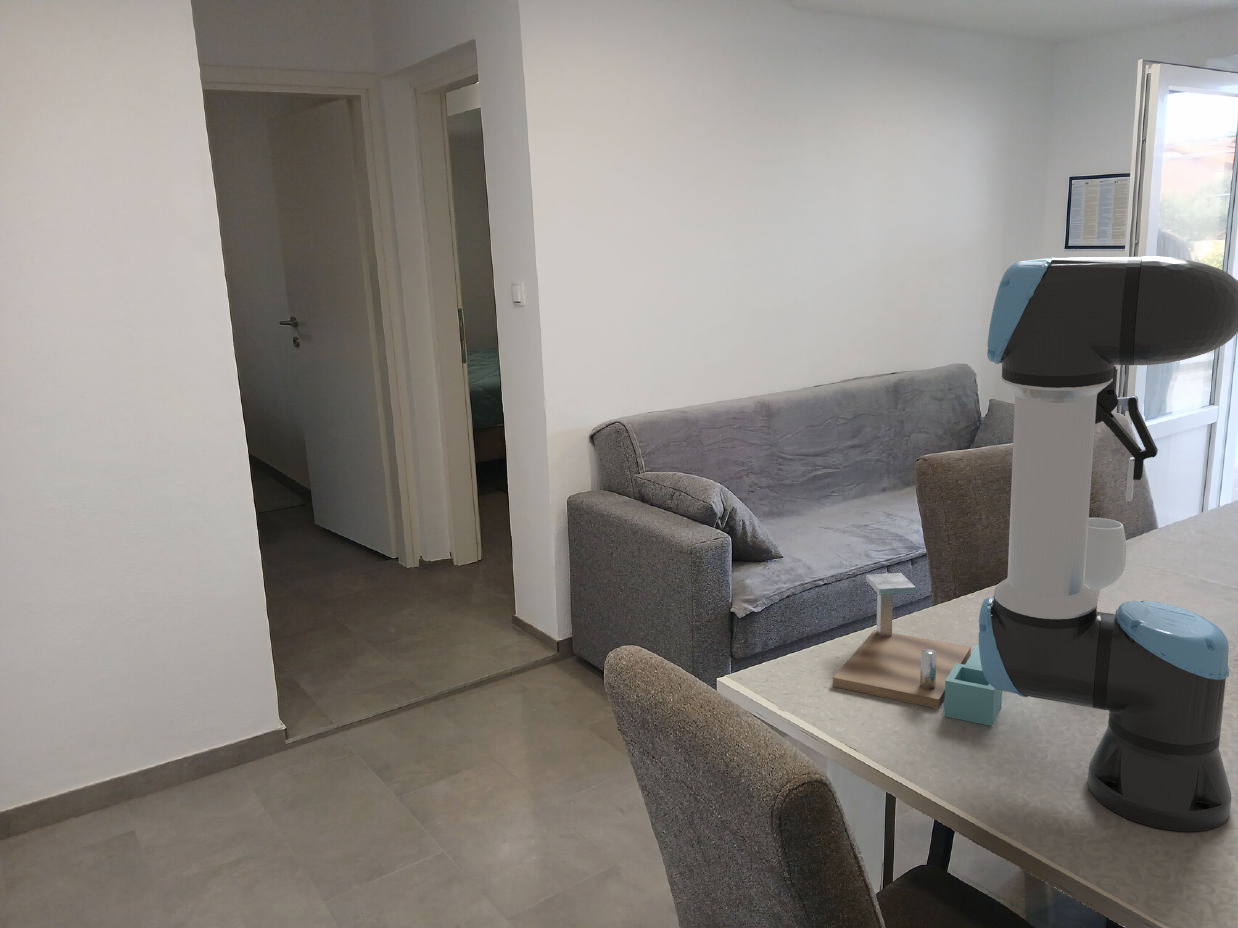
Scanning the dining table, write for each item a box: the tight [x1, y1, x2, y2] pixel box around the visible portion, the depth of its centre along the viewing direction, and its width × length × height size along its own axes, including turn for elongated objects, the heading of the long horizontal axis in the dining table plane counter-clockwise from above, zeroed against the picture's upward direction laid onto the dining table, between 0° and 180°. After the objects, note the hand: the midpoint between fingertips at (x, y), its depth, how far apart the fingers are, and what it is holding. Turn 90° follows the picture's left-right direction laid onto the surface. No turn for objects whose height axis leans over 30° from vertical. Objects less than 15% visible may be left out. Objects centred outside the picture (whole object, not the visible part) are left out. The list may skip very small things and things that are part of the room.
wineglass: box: [1084, 517, 1127, 605], centre depth 157 cm, size 9×9×21 cm
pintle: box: [920, 649, 937, 690], centre depth 143 cm, size 2×2×7 cm
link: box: [943, 642, 1003, 727], centre depth 144 cm, size 20×7×6 cm, turn 148°
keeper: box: [865, 572, 917, 637], centre depth 160 cm, size 7×6×12 cm
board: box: [832, 629, 972, 710], centre depth 153 cm, size 21×16×2 cm
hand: (1081, 495), depth 155 cm, fingers open, 13 cm apart
